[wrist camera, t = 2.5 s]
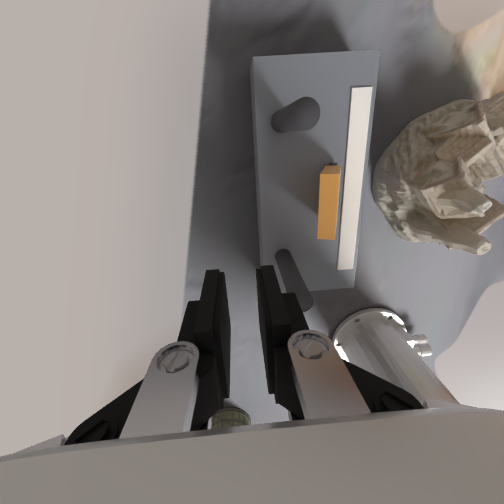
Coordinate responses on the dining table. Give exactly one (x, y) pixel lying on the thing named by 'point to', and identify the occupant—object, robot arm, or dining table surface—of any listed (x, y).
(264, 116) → the strip
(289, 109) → the dark gray rod
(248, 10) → the dining table surface
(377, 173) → the beige rock sculpture
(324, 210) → the wooden plank tile
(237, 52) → the dining table surface
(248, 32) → the dining table surface
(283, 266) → the dark grey cylinder
